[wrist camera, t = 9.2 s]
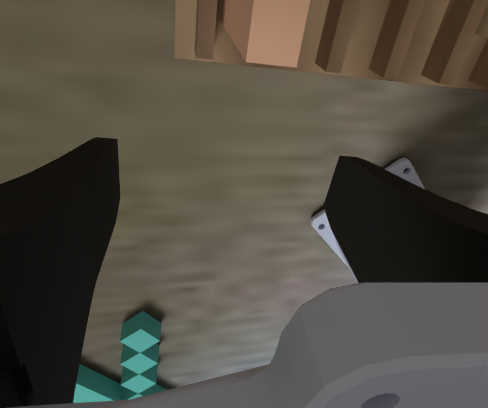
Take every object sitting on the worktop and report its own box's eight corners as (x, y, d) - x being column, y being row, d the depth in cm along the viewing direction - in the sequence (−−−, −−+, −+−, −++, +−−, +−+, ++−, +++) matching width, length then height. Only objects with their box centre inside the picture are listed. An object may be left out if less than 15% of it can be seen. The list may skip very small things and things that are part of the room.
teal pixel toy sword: (143, 306, 30) (-13, 403, 35) (140, 328, 28) (-24, 428, 33) (268, 390, 41) (136, 457, 45) (272, 411, 39) (134, 477, 43)
